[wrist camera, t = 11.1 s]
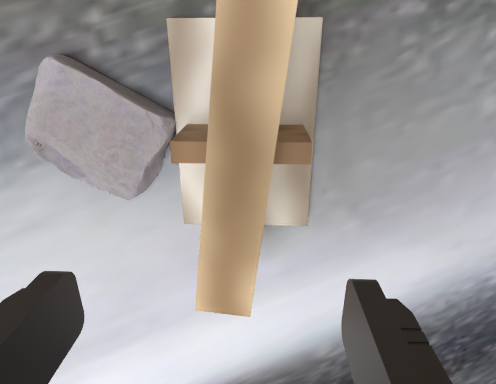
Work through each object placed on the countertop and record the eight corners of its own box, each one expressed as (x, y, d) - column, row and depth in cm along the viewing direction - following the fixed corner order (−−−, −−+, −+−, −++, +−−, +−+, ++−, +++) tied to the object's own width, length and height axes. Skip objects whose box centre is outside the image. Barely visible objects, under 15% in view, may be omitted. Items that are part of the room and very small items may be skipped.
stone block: (155, 189, 36) (188, 109, 30) (135, 216, 32) (169, 129, 26) (48, 135, 35) (63, 41, 29) (13, 156, 30) (23, 51, 25)
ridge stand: (319, 18, 27) (339, 8, 20) (305, 218, 34) (316, 261, 27) (171, 19, 28) (141, 10, 21) (187, 217, 35) (168, 258, 28)
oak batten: (296, -25, 20) (304, -42, 16) (251, 281, 28) (250, 316, 25) (228, -34, 20) (220, -52, 16) (204, 276, 28) (195, 310, 25)
